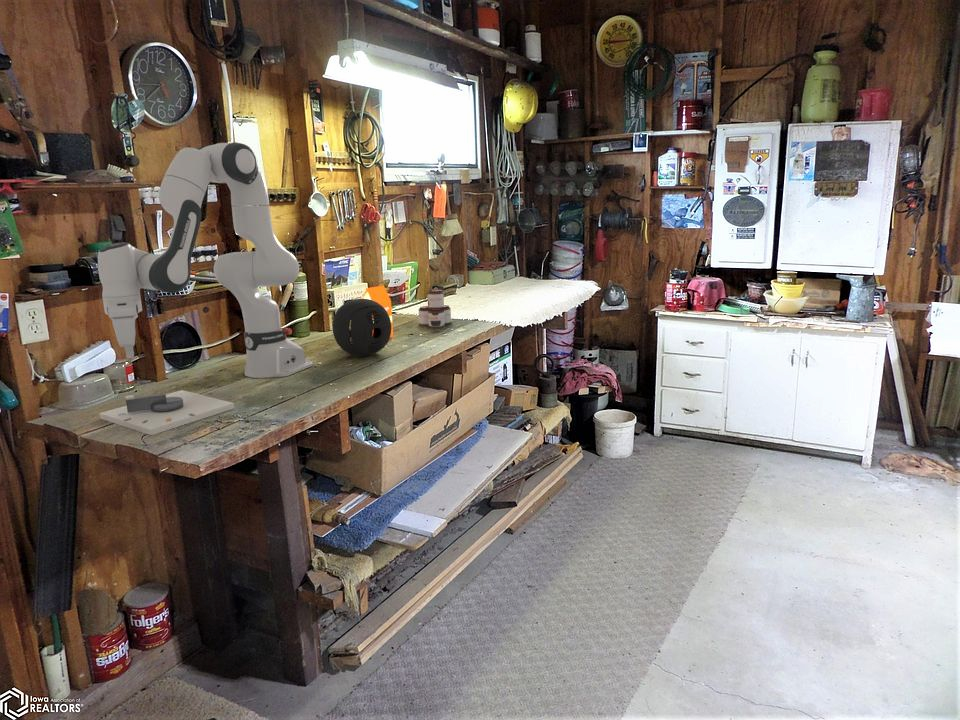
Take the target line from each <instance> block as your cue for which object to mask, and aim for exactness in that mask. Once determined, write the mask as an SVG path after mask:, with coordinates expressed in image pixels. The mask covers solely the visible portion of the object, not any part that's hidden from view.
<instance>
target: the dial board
mask: <svg viewBox="0 0 960 720" xmlns="http://www.w3.org/2000/svg"><path fill="white" fill-rule="evenodd" d="M165 394H166V397H180V398H182V399H183V407H181V408H179V409H176V410H172V411H166V412H155V411H152V410H144V411H137V412H130V413H128V411H127V405H123V406H120V407H117V408H114V409H109V410H106V411H102V412H99V419H100V420H103V421H107V422H110V423H112V424H115V425H118V426H122V427H123V428H124V427H125V428H127V429H131V430H134V431H137V432H140V433H142V434H145V435H149V436H153V435H156V434H160V433H162V432H166V431H169V430H172V429H175V428H177V427H181V425H182V426H184V424H185V425H187V424H191V423H193V422H197V421H200V420H203V419H206V418H209V417H212V416H215V415H219V414H221V413H225V412H228V411H230V410H233V409H235V404H234V402H230V401H227V400H223V399H219V398H214V397H211V396H206V395H203V394H199V393H195V392H192V391H187V390H183V389H181V390H177V391H174V392H169V393H165Z"/></svg>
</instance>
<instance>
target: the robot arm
mask: <svg viewBox="0 0 960 720" xmlns="http://www.w3.org/2000/svg"><path fill="white" fill-rule="evenodd" d="M257 160H258V159H257V157H256V154H255V153H254V151H253V149H252V148H251V147H250V146H248V145H247V144H244V143H240V142H237V141H236V142H218V143H215V144H211V145H202V146H200V147H198V148H194V147H183V148H181V149H180V150H179V151H178V152H177V154H175V156H174V158H173V159H172V161H171V162H170V164H169V166H168V168H167V170H166V172H165V174H164V177H163V179H162V182H161V184H160V187H159V191H158V201H159V203H160V206H161V207H162V208H163V210H165V212H166V213H168V214H169V215H171V217H172V219H173V227H172V230H171V233H170V237H169V240H168V243H167V248H166V249H165V251H163V252H162V253H160V254H159V253H150V252H148V251H144V250H141V249H138V248H137V247H135V246H133V245H131V244H130V243H129V242H125V241H124V242H123V241H121V242H116V243H115V242H114V243H109V244H106V245H104V246H102V247H101V248H99V249H98V250H99V251H98V253H97V267H98V276H99V281H100V282H101V287H102V293H101V296H102V303H103V311H104V315H107V316H108V318H109V319H111V322H112V326H113V329H114V332H115V337H116V340H117V343H118V346H119V347H120V348H124V352H125V357H126V358H127V359H134V357H135V351H134V346H136V345H135V344H136V319H137V318H138V317H139V315H138V314H139V313H140V312H143V305H142V304H143V303H142V297H141V289H143V290H144V289H145V290H151V291H158V292H159V291H160V292H163V293H167V294H176V293H179V292H181V291H183V290H185V288H186V287H187V285H188V284H189V282H190V279H191V275H192V273H191V272H192V268H191V265H192V264H191V263H192V258H193V257H192V255H193V253H194V249H195V246H196V241H197V237H198V234H199V230H200V226H201V222H202V221H201V220H202V209H201V208H202V204H203V200H204V197H205V195H206V192H207V189H208V185H209V184H216V183H217V184H226V185H227V186H228V188H229V191H230V202H231V203H230V205H231V213H232V222H233V230H234V232H235V233H236V235H237V236H238V237H240V238H241V239H244V240H247V241H249V242H251V243H252V244H253V246H254V247H255V249H256V250H255V251H234V252H229V253H225V254H220V255H219V256H217V258H216V259H215V262H214V264H213V274H214V278H215V279H216V281H217V282H218V283H219V284H220V285H221V286H223V287H224V288H226V289H227V290H229V292H231V294H232V295H233V296H234V297H235V298H236V300H237V301H238V304H239V306H240V309H241V313H242V318H243V324H244V325H243V326H244V331H243V337H244V338H243V339H244V344H245V348H246V350H245V351H246V359H245V360H246V361H245V369H244V374H243V375H244V376H245V377H248V378H252V379H253V378H254V379H255V378H256V379H257V378H259V379H265V378H277V377H279V378H280V377H282V378H283V377H288V376H291V375H293V374H296V373H298V372H301V371H303V370H306V369H307V368H308V369H309V368H311V367H313V366H314V362H313V361H311V360H309V359H306V354H305V351H304V349H303V348H302V346H300V345H298V344H297V343H295V342H293V341H292V340H290V339H289V338H288V337H287V335H292V334H293V330H292V328H290V327H289V328H288V327H285V328H283V327H282V324H281V315H280V314H281V313H280V306H279V305H278V304H277V302H276V301H275V300H273V299H271V298H270V297H267V296H265V295H263V294H262V293H261V292H260V290H259V287H262V288H263V287H281V286H286V285H290V284H293V283H294V282H296V280H297V279H298V277H299V273H300V264H299V262H298V259H297V258H296V256H295V255H294V254H293V253H292V252H290V251H289V250H287V249H286V248H285V247H284V246H283V245H282V244H281V243H280V242H279V239H278V238H277V237H276V234H275V231H274V229H273V224H272V216H271V208H270V207H271V206H270V199H269V192H268V188H267V184H266V181H265V177H264V176H263V174H262V172H260V171H259V166H258V161H257Z"/></svg>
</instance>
